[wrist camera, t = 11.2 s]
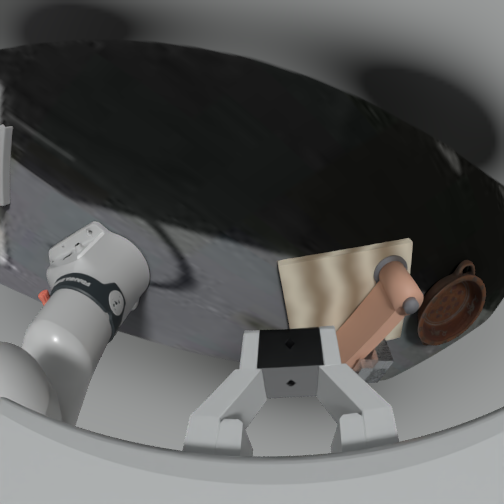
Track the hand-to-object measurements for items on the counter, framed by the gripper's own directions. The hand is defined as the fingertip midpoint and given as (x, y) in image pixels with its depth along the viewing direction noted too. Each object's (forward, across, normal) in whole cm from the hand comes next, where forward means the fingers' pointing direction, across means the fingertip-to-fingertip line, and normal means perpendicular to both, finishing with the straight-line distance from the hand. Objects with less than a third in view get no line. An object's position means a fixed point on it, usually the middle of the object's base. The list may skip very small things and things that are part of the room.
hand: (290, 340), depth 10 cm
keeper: (+32, -13, +34) cm, 48 cm away
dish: (+35, -34, +33) cm, 58 cm away
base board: (+33, -11, +29) cm, 46 cm away
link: (+31, -14, +28) cm, 44 cm away
